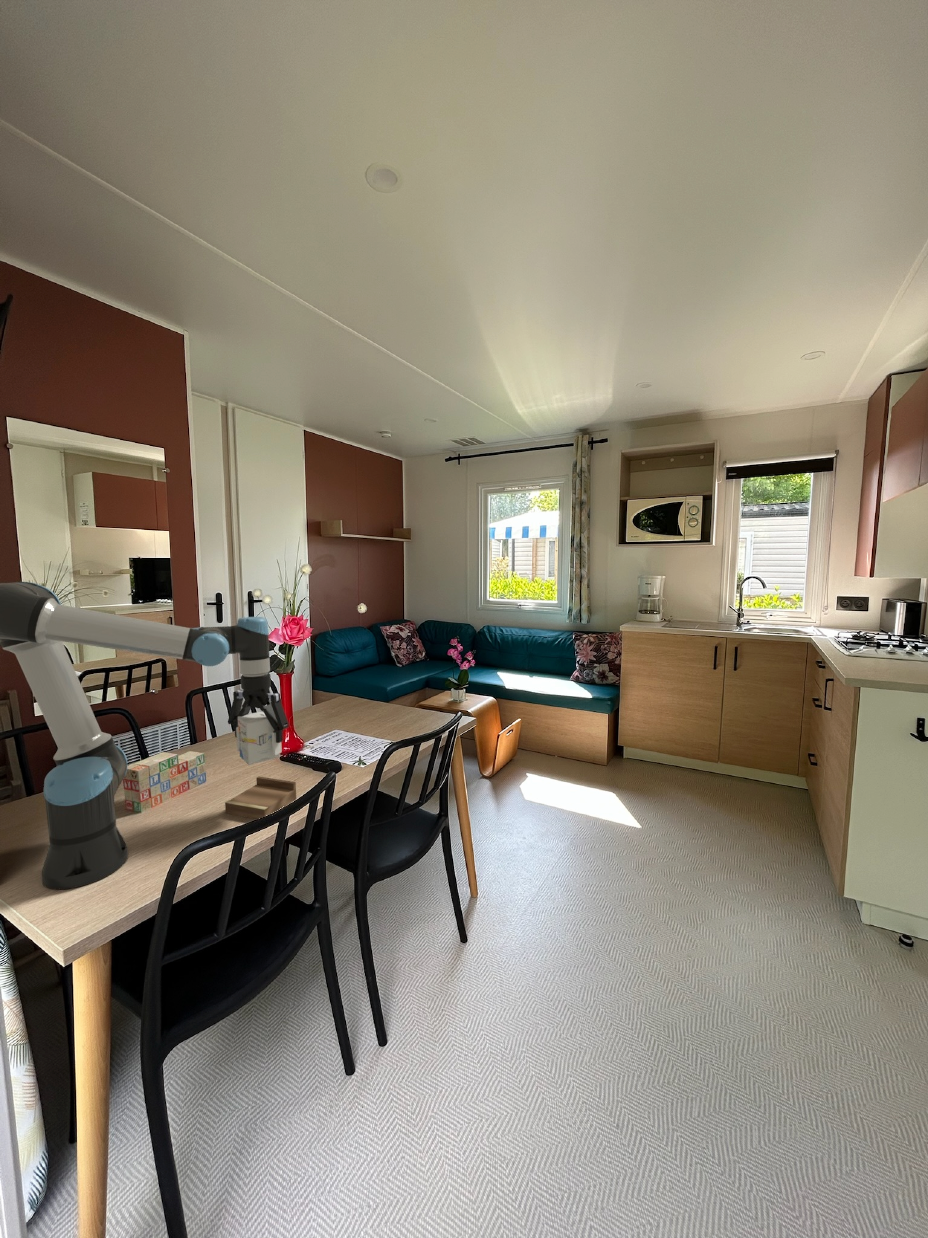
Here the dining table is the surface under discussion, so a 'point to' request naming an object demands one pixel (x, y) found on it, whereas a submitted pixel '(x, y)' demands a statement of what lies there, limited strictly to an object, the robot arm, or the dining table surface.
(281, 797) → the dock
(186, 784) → the stack of blocks
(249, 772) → the dining table surface
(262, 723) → the ink box
